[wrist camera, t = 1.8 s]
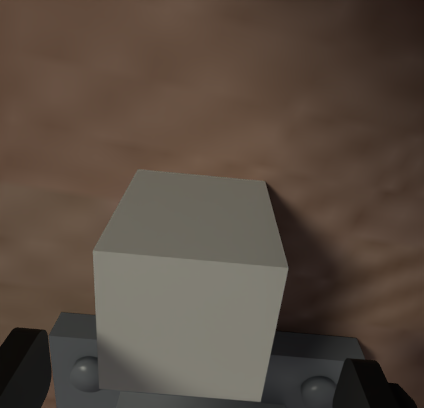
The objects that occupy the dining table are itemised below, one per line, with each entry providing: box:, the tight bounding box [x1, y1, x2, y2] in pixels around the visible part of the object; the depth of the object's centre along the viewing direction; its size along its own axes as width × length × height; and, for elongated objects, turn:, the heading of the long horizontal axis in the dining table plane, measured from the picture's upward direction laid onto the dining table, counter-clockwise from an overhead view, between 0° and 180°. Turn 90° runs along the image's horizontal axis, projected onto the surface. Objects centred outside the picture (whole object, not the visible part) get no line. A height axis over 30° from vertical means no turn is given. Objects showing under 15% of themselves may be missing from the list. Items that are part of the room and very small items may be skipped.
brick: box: [93, 169, 288, 402], centre depth 14 cm, size 5×5×6 cm
